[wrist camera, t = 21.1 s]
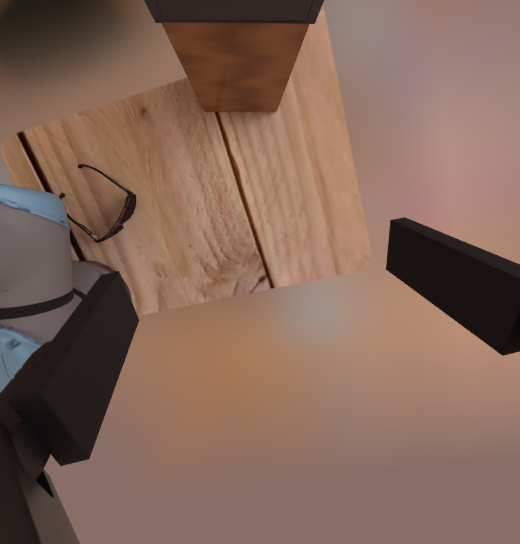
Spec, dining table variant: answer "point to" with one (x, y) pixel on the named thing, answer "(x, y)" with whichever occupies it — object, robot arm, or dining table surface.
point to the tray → (235, 11)
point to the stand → (237, 62)
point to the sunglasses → (123, 217)
